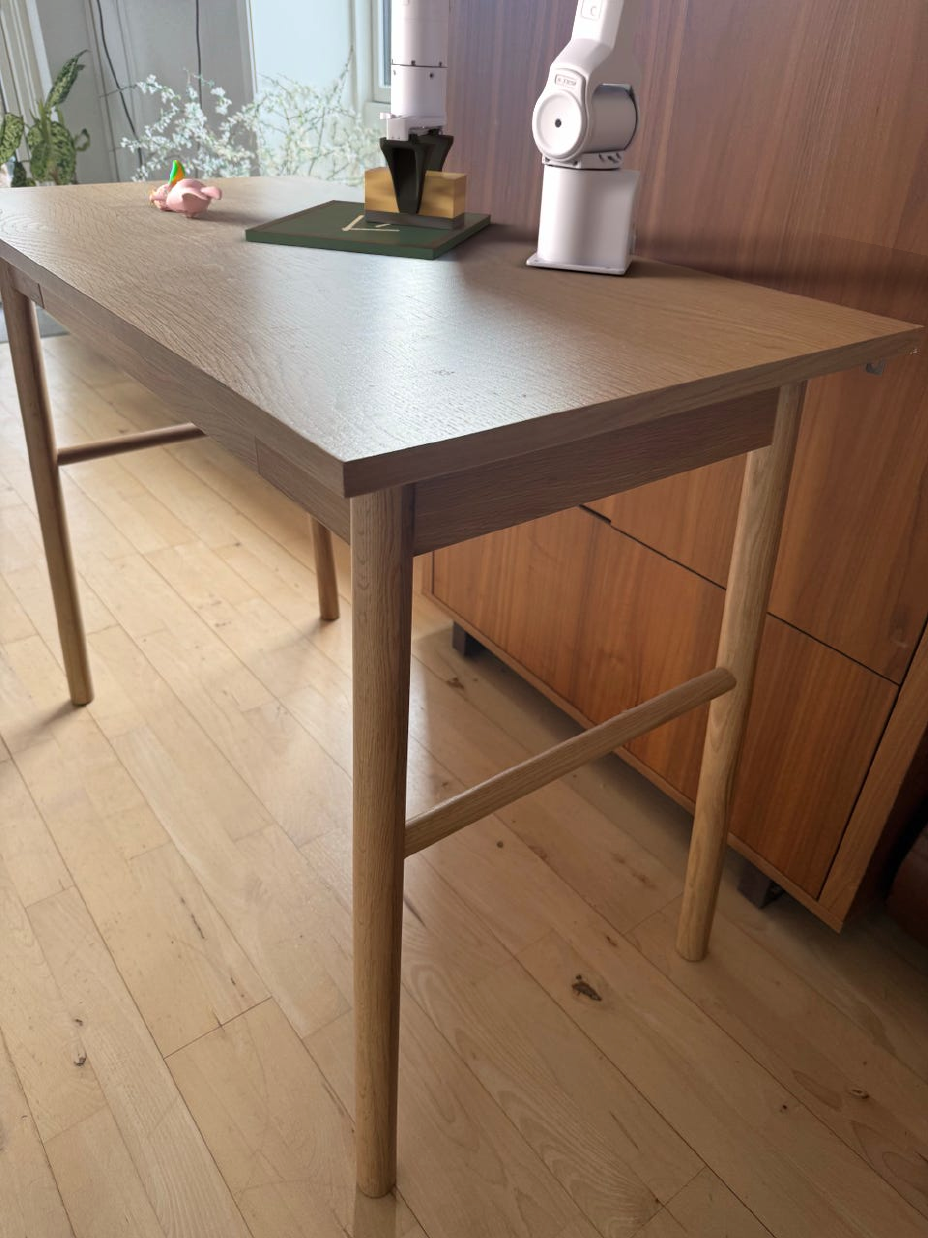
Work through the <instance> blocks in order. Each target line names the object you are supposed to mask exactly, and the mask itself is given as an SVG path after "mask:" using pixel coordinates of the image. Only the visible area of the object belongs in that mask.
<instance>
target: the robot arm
mask: <svg viewBox="0 0 928 1238" xmlns="http://www.w3.org/2000/svg"><path fill="white" fill-rule="evenodd" d="M643 4H644V0H578V2H577V7H576V13H575V17H574V23H573V28H572V33H571V39H570V40H569V42H568V43H567V45H566V46H565V47H564V48H563V49H562V51H560V53H559V54H558V55H557V56H556V58H554V60H553V62H551V65H550V68H549V73H548V78H547V81H546V85H545V87H544V89H543V91H542V93H541V95H540V96H539V97H538V99H537V101H536V103H535V106H534V109H533V112H532V119H531V128H532V135H533V139H534V142H535V145H536V146H537V148H538V150H539V152H540V153H541V154H542V157H541V163H542V164H544V168H543V178H542V193H541V204H540V205H541V206H540V215H539V229H538V238H537V239H538V240H537V251H536V252H535V253H533V254H532V255H531V256H530V257H529V258H528V259H527V260H526V265H527V266H529V267H540V268H548V269H549V268H550V269H561V270H568V271H569V270H570V271H578V272H579V271H580V272H588V273H589V272H590V273H598V274H609V275H620V276H621V275H624V274H625V273H626V271H627V270H628V268H629V267H630V265H631V263H632V261H633V258H634V257H633V255H634V254H635V251H636V243H637V234H636V232H637V231H636V230H637V222H638V217H639V216H638V215H639V210H640V209H639V208H640V201H641V192H642V181H643V174H642V171H641V170H635V169H625V168H622V165H623V164H624V159H625V153H626V152H627V151H628V150H629V149H630V148H631V147H632V146H633V144H634V143H635V142H636V139H637V138H638V135H639V132H640V129H641V124H642V123H641V121H642V114H641V106H640V91H641V86H642V85H641V84H642V80H643V75H642V71H641V69H640V67H639V64H638V62H637V60H636V57H635V55H634V52H633V48H634V43H635V39H636V35H637V30H638V25H639V21H640V18H641V17H640V16H641V12H642V7H643ZM453 7H454V0H391V43H390V44H391V47H390V48H391V52H390V53H391V55H390V56H391V58H390V59H391V60H390V61H391V63H390V64H391V65H390V67H391V70H390V71H391V73H390V74H391V76H390V78H391V79H390V80H391V81H390V82H391V83H390V101H391V102H390V111H382V112H381V111H380V115H379V119H380V121H386V136H383V137H380V138H379V149H380V150H381V152H382V154H383V157H384V159H385V161H386V164H387V167H389V170H390V173H391V177H392V181H393V186H394V191H395V197H396V202H397V206H398V210H399V213H408V214H418V213H419V209H420V205H421V200H422V194H423V187H424V180H425V175H426V171H436V172H443V168H444V165H445V162H446V160H447V157H448V154H449V152H450V150H451V149H452V147H453V145H454V142H455V136H454V135H451V134H440V133H443V132H446V131H447V125H448V115H447V85H448V82H447V80H448V57H449V56H448V54H449V53H448V52H449V24H450V23H449V19H450V15H449V14H450V13H451V9H452V8H453Z"/></svg>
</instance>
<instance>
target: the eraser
mask: <svg viewBox="0 0 928 1238" xmlns="http://www.w3.org/2000/svg"><path fill="white" fill-rule="evenodd" d="M467 175H468V174H466V173H457V172H446V171H445V172H444V171H442V172H436V171H426V175H425V180H424V187H423V194H422V200H421V205H420V209H419V213H418V214H408V213H399V210H398V206H397V202H396V197H395V191H394V186H393V181H392V177H391V173H390V170H389V167H388V166H381V165H380V166H377V167H375V168H374V167H373V168H371V169H367V170H365V171H364V203H365V221H367V222H377V223H386V224H396V225H406V226H416V227H426V228H436V229H445V230H453V229H455V228H457V227H458V226H460V225H462V224H464V219H465V212H466V200H467V199H466V198H467V197H466V196H467V178H468V177H467Z"/></svg>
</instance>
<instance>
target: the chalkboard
mask: <svg viewBox="0 0 928 1238" xmlns="http://www.w3.org/2000/svg"><path fill="white" fill-rule="evenodd" d="M491 221H492V214H491V213H481V212H480V213H479V212H469V211H468V212H467V211H465V219H464V224H462V225H460V226H458V227H457V228H455V229H453V230H445V229H436V228H426V227H416V226H406V225H396V224H386V223H377V222H367V221H365V202H358V201H349V200H348V201H347V200H339V199H338V200H336V199H331V200H329V201H326V202H323V203H320V204H317V205H314V206H311V207H309V208H306V209H303V210H299V211H296V212H294V213H291V214H287V215H284V216H282V217H280V218H276V219H273V220H270V221H267V222H264V223H261V224H258V225H255V226H252V227H250V228H247V229H245V230H244V235H245V236H244V237H245V241H246V242H254V243H266V244H274V245H284V246H292V247H293V246H294V247H302V248H303V247H304V248H312V249H313V248H314V249H322V250H323V249H324V250H333V251H341V252H342V251H344V252H353V253H360V254H361V253H362V254H372V255H381V256H391V257H401V258H411V259H420V260H421V259H422V260H430V261H433V260H435V259H436V258H439V257H440V256H442V255H443V254H445V253H446V252H448V251H450V250H451V249H452V248H454V247H456V246H457V245H459V244H460V243H462V242H464V241H465V240H467V239H468V238H470V237H471V236H473V235H474V234H477V233H478V232H479V231H482V230H483V229H484V228H486V227H487V226H489V225H490V224H491Z"/></svg>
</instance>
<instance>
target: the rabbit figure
mask: <svg viewBox="0 0 928 1238" xmlns="http://www.w3.org/2000/svg"><path fill="white" fill-rule="evenodd" d="M185 176H186V171H185V169H184V165H183V164H182V163H181V162H180V161H179V160H177V159H174V160H173V161H172V167H171V172H170V174H169V182H168V183H166V184H163V185H161V186H160V187H158V189H157V190H156V189H150V196H149V205H151V204H153V205H152V206H153V207H152V208H154V207H155V206H156V207H157V208H158V209H159V210H161V211H167V210H169V211H174V212H175V213H180V214H182V215H183V217H185V218H195V217H196V216H197V214H199V213H200V212H204V211H205V210H207V209H208V207H209V206H210V205H211V203H212V199H215V200H217V201H220V200H221V199H223V190H222V188H220V187H217V186H213V185H212V186H206V184H204V183H203V182H201V181H200V180H197V179H195V178H185Z"/></svg>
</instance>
